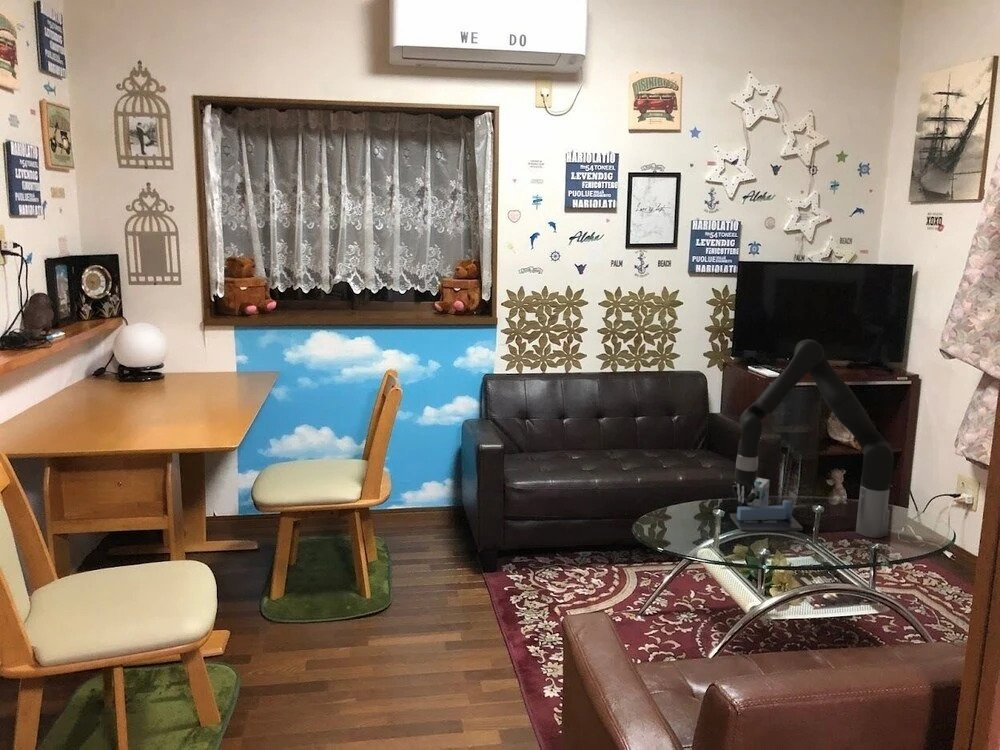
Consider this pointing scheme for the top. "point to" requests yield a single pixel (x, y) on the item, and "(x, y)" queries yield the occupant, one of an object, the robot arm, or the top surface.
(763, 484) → the light bulb box
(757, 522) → the plate
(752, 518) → the swing arm
